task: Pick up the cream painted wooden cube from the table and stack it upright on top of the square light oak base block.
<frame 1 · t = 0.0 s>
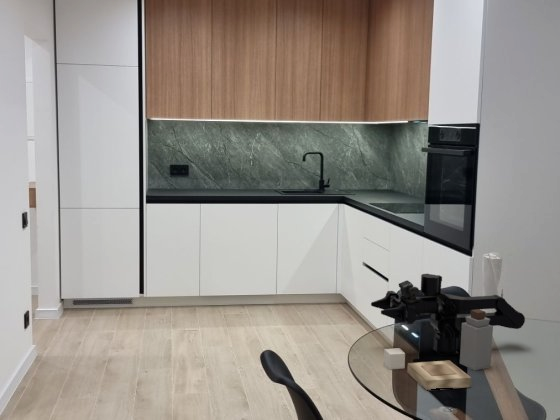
hand: (376, 308, 222), 17 cm above the table, fingers open, 9 cm apart
perfume bottle: (475, 365, 218), on the table
skyscraper: (489, 322, 263), on the table
cream cube: (394, 366, 216), on the table
oak base: (438, 379, 206), on the table
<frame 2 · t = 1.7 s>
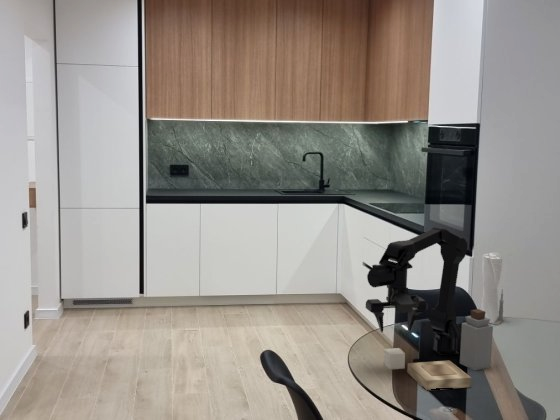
hand: (395, 331, 215), 11 cm above the table, fingers open, 9 cm apart
nothing on the table moved.
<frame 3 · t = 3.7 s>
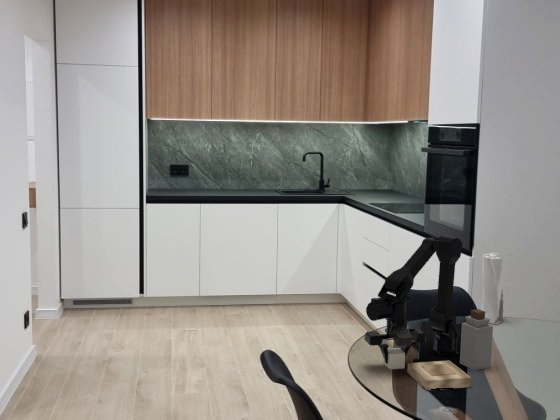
hand: (394, 362, 216), 1 cm above the table, fingers closed on cream cube, 5 cm apart
cream cube: (394, 365, 216), on the table, touching gripper
everything else where it was.
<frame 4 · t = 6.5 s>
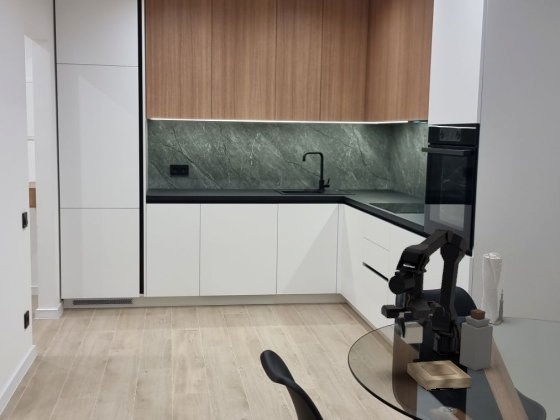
hand: (411, 337, 211), 11 cm above the table, fingers closed on cream cube, 5 cm apart
cream cube: (411, 340, 211), point 10 cm above the table, touching gripper
everything else where it was.
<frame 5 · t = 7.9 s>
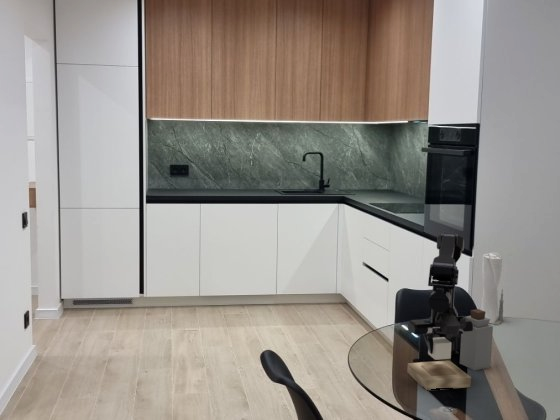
hand: (439, 352, 205), 8 cm above the table, fingers closed on cream cube, 5 cm apart
cream cube: (439, 356, 205), point 7 cm above the table, touching gripper
everything else where it was.
when the fingers open (5 cm above the table, at t = 9.3 s): cream cube drops 1 cm, resting on oak base.
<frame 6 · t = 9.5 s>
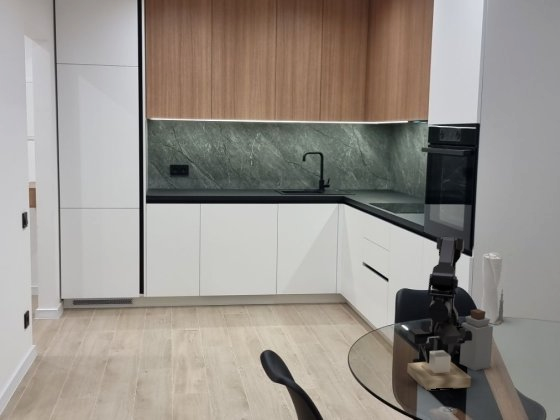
hand: (438, 362, 205), 5 cm above the table, fingers open, 7 cm apart
cream cube: (438, 369, 205), point 3 cm above the table, touching oak base
everything else where it was.
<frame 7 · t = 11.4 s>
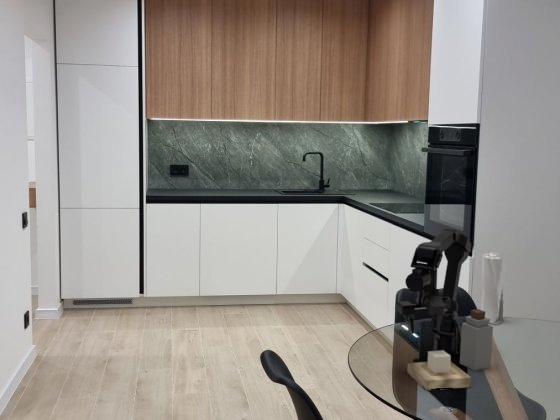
hand: (425, 332, 213), 12 cm above the table, fingers open, 9 cm apart
nothing on the table moved.
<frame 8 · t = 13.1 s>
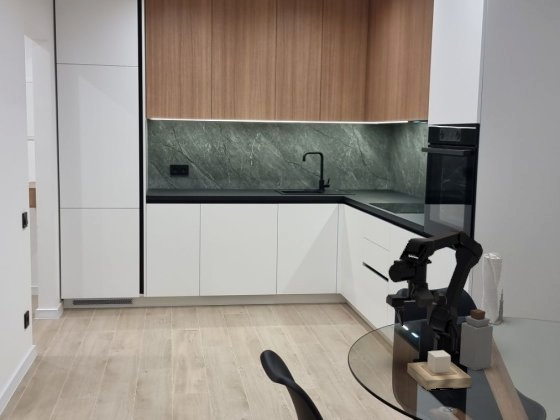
hand: (415, 325, 219), 12 cm above the table, fingers open, 9 cm apart
nothing on the table moved.
at the end: cream cube inside the target area on the oak base (0.0 cm from its centre), point 3.2 cm above the oak base's base; cream cube tilted 0°; the gripper is holding nothing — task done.
